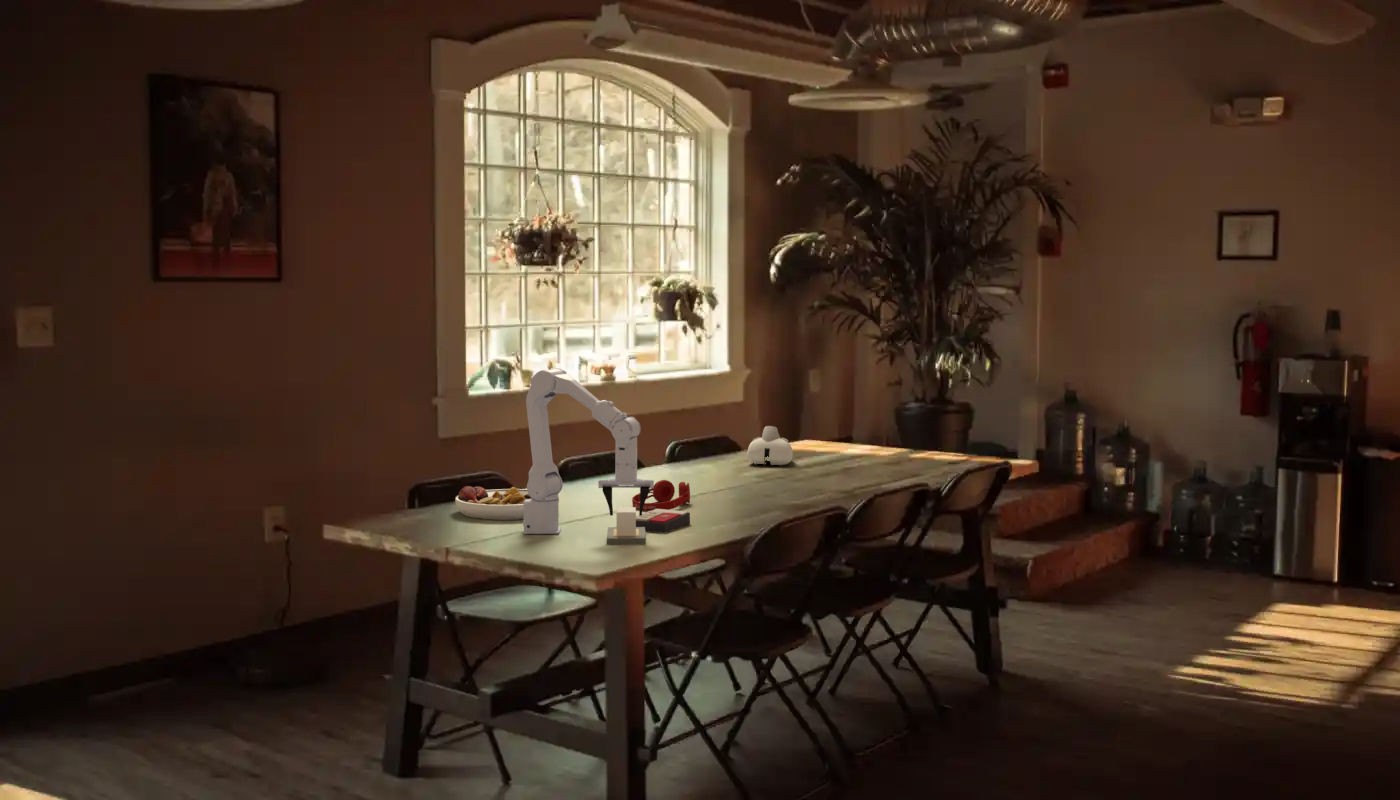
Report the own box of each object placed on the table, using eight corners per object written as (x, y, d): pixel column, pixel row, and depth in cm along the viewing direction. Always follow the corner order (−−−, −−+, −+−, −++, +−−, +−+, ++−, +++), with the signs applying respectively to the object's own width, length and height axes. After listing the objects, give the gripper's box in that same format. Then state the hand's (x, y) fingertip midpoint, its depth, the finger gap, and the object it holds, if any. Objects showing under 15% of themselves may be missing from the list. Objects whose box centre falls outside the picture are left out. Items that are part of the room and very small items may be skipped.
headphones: (660, 498, 424) (623, 516, 407) (659, 476, 422) (621, 493, 406) (701, 502, 416) (664, 521, 399) (699, 480, 414) (663, 498, 398)
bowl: (566, 505, 413) (566, 480, 412) (549, 523, 383) (549, 495, 382) (468, 504, 415) (468, 478, 414) (444, 521, 385) (444, 494, 384)
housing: (616, 535, 355) (616, 512, 355) (617, 529, 363) (616, 507, 363) (635, 535, 356) (635, 512, 355) (635, 529, 364) (635, 507, 363)
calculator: (629, 517, 372) (655, 506, 386) (629, 532, 373) (656, 521, 386) (664, 520, 367) (690, 509, 381) (665, 536, 368) (690, 524, 381)
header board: (606, 544, 352) (606, 525, 351) (607, 532, 367) (607, 514, 367) (645, 544, 352) (645, 524, 352) (645, 532, 368) (645, 514, 367)
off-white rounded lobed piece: (815, 465, 504) (815, 425, 503) (765, 469, 491) (766, 429, 490) (778, 458, 523) (778, 420, 521) (729, 462, 510) (730, 423, 508)
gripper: (598, 465, 354) (598, 517, 355) (654, 465, 354) (653, 517, 356) (598, 462, 361) (598, 512, 362) (653, 462, 361) (653, 512, 363)
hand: (626, 514), depth 359 cm, fingers open, 7 cm apart
